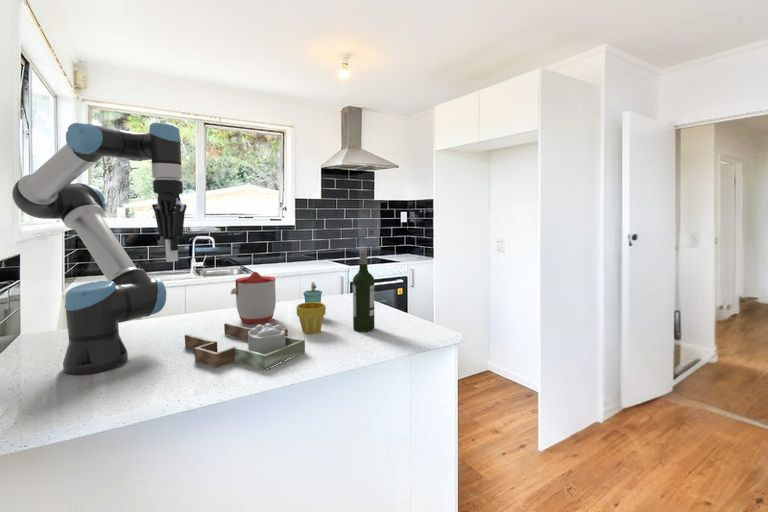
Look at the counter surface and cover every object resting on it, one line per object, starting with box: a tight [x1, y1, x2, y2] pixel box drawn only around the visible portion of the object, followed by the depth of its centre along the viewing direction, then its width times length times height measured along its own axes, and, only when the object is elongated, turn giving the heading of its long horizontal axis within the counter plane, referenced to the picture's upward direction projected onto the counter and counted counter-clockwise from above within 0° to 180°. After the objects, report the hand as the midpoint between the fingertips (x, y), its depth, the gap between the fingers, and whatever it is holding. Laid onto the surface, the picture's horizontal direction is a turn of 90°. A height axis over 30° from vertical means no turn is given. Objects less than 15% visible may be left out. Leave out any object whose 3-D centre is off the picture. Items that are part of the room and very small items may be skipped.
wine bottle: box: [352, 248, 375, 333], centre depth 148 cm, size 8×8×30 cm
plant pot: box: [296, 302, 327, 335], centre depth 146 cm, size 10×10×10 cm
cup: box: [303, 281, 323, 303], centre depth 165 cm, size 14×8×15 cm, turn 18°
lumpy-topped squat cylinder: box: [247, 322, 286, 354], centre depth 124 cm, size 10×13×9 cm
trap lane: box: [184, 322, 306, 370], centre depth 127 cm, size 37×28×4 cm
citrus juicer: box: [230, 271, 277, 325], centre depth 160 cm, size 16×17×20 cm
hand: (172, 261), depth 117 cm, fingers closed
